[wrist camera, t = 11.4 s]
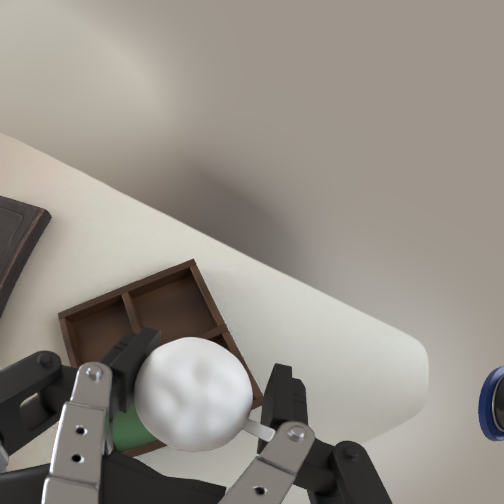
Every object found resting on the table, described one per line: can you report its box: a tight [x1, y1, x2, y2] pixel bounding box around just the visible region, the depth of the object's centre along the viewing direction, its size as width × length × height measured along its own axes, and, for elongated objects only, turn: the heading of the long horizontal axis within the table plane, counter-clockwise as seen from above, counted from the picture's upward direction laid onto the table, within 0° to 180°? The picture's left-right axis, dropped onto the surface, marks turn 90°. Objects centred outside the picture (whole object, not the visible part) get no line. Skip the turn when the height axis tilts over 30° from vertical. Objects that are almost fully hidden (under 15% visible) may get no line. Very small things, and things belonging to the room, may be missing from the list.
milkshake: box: [134, 337, 276, 451], centre depth 13 cm, size 5×5×10 cm
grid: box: [58, 259, 264, 457], centre depth 29 cm, size 17×17×3 cm
